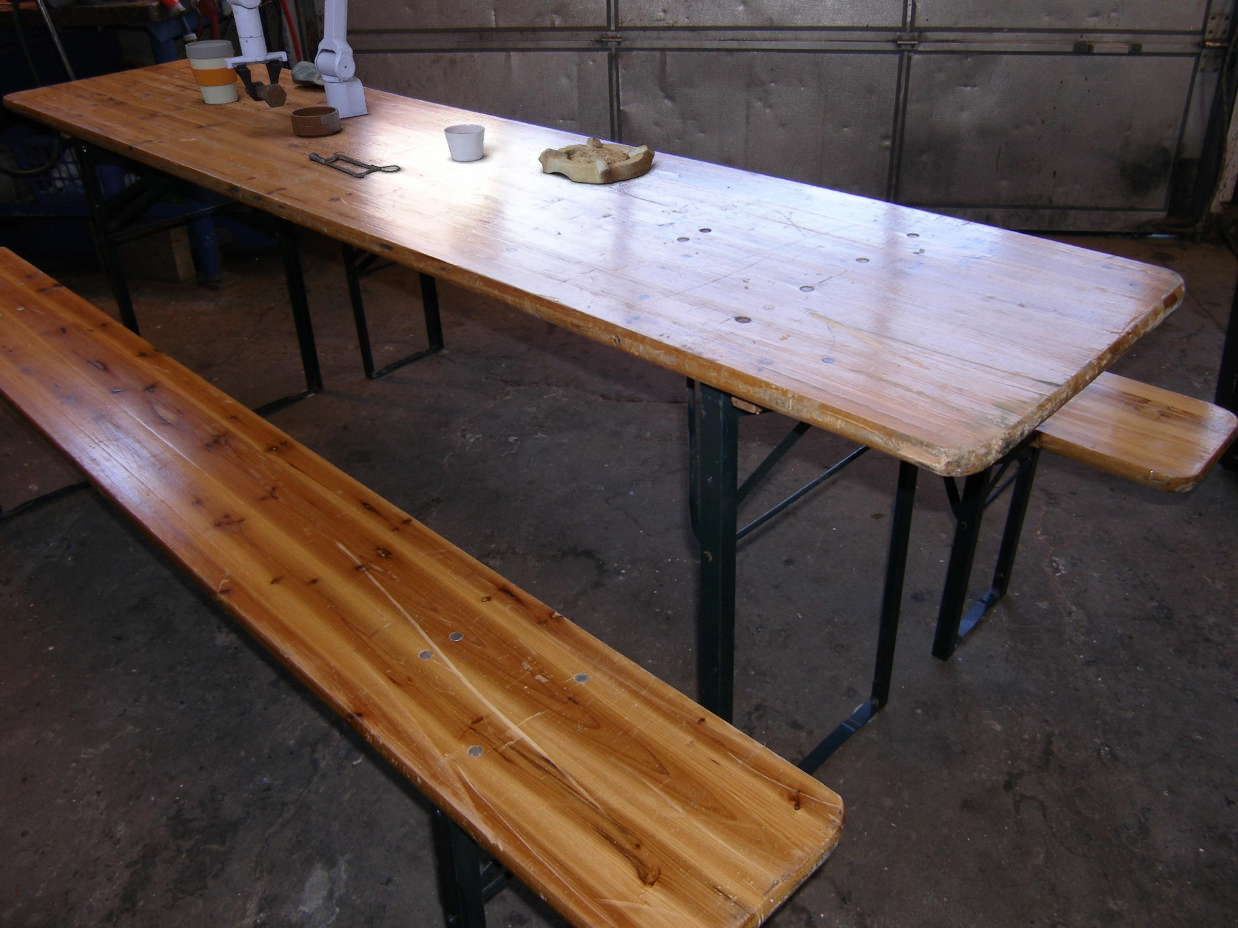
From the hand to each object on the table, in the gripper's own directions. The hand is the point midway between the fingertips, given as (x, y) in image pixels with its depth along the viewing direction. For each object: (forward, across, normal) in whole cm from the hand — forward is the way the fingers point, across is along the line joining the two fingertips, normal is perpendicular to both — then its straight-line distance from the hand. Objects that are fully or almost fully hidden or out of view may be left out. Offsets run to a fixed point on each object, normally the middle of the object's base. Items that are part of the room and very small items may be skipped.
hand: (263, 95), depth 238 cm
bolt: (+2, 0, 0) cm, 2 cm away
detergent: (+9, +31, +38) cm, 50 cm away
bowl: (+9, +9, -9) cm, 15 cm away
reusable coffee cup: (+9, +2, +45) cm, 46 cm away
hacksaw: (+9, +3, -43) cm, 44 cm away
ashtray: (+9, +42, -82) cm, 92 cm away
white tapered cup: (+9, +25, -55) cm, 61 cm away
